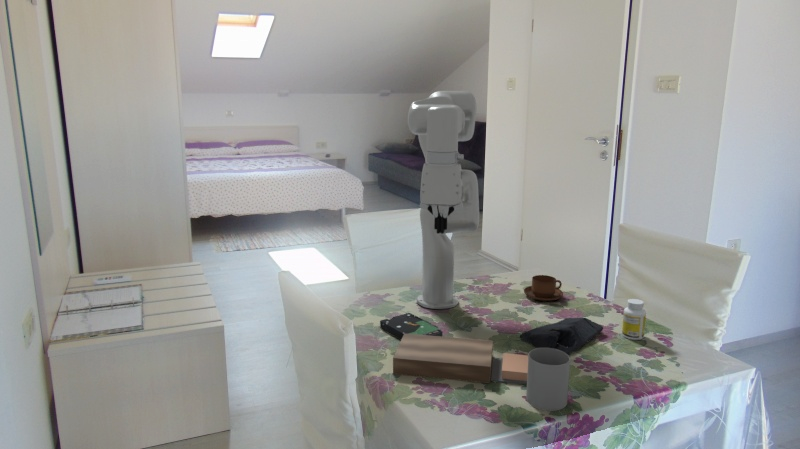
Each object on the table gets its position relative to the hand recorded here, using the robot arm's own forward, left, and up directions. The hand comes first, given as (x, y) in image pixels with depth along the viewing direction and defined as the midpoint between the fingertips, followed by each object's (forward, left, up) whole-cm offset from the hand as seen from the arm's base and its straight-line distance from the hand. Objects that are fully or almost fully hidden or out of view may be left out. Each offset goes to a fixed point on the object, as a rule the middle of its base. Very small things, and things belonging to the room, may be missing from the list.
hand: (440, 232), depth 145 cm
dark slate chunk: (-9, +32, -30) cm, 45 cm away
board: (+13, +3, -29) cm, 32 cm away
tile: (+14, +20, -27) cm, 36 cm away
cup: (+25, +26, -29) cm, 46 cm away
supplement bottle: (-13, +50, -29) cm, 59 cm away
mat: (+14, +20, -29) cm, 38 cm away
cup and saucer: (-39, +28, -30) cm, 57 cm away
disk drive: (-4, -8, -30) cm, 31 cm away
